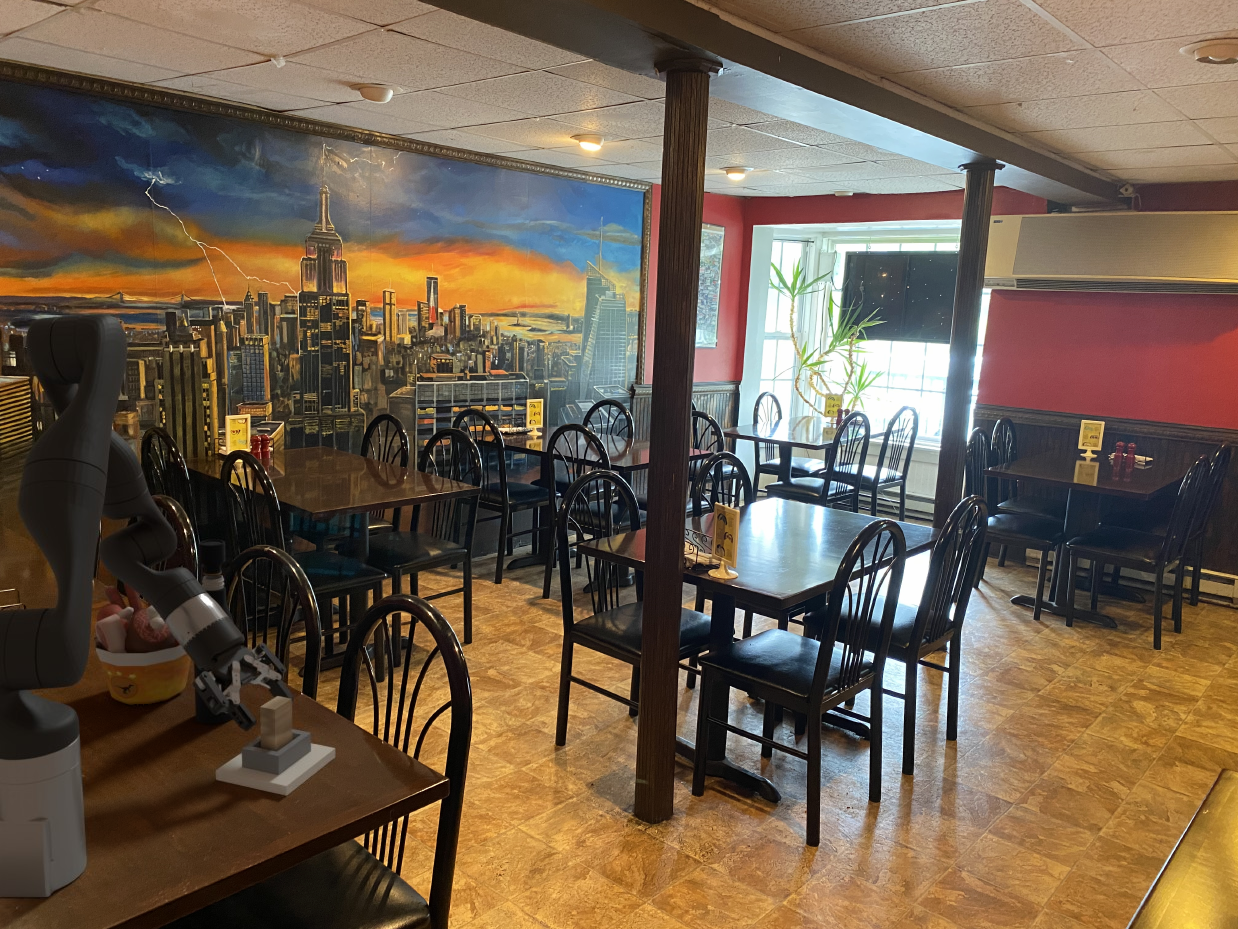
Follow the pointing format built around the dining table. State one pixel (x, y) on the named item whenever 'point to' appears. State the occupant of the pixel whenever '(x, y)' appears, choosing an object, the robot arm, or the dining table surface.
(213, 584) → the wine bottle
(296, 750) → the socket base
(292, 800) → the dining table surface
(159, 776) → the dining table surface
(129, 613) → the bucket of meat
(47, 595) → the dining table surface
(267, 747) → the slat
